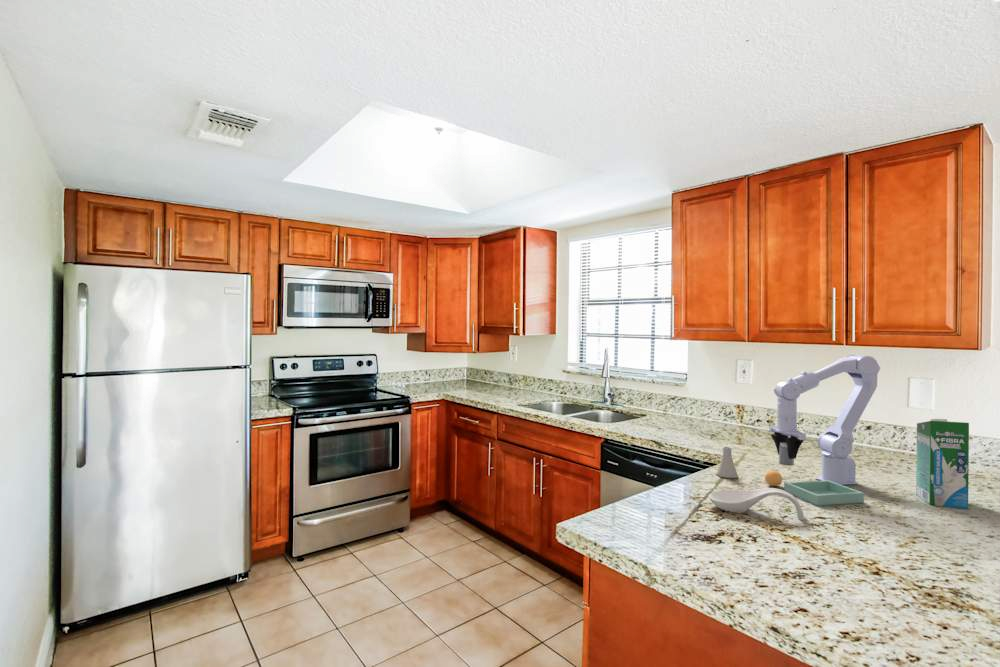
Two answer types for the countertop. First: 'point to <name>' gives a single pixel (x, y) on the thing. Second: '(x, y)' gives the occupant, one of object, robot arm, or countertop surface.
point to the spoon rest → (749, 499)
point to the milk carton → (943, 463)
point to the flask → (727, 465)
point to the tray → (824, 492)
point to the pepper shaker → (784, 455)
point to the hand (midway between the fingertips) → (786, 456)
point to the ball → (773, 478)
